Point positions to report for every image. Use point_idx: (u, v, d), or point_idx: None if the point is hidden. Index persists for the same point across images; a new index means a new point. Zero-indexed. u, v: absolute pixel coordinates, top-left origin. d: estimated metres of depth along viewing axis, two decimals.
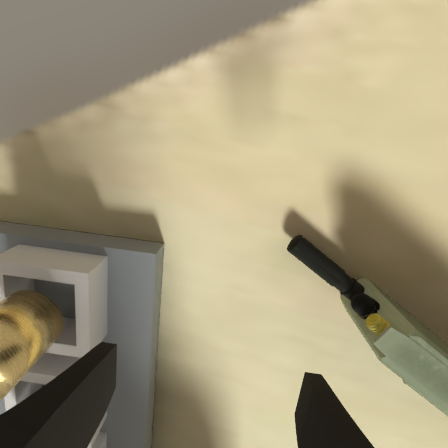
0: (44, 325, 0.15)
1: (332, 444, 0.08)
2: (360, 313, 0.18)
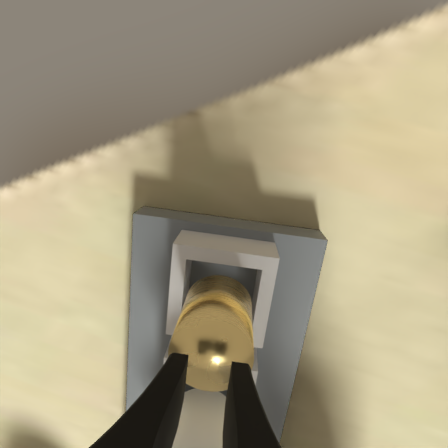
0: (250, 311, 0.15)
1: (234, 429, 0.08)
2: None
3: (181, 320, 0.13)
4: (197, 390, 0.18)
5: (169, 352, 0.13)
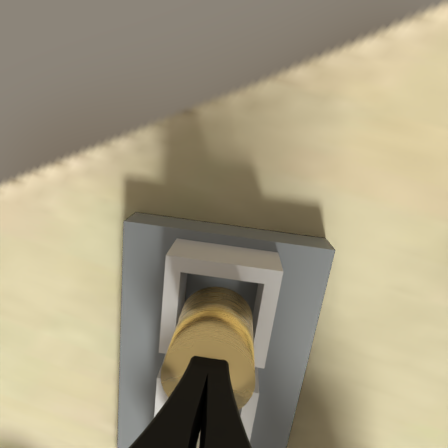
0: (251, 326, 0.14)
1: (205, 424, 0.08)
2: None
3: (175, 339, 0.12)
4: None
5: (162, 375, 0.11)
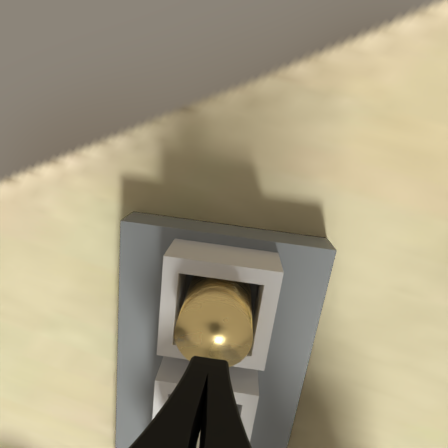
0: (249, 296, 0.16)
1: (205, 424, 0.08)
2: None
3: (186, 303, 0.14)
4: None
5: (175, 332, 0.14)
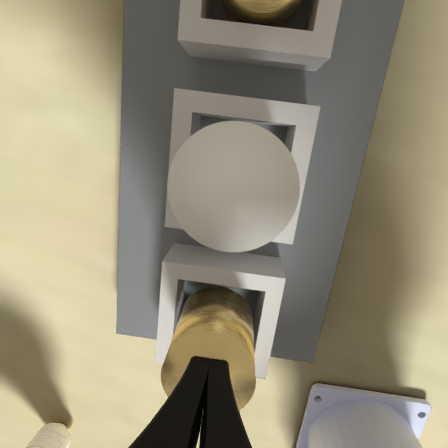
0: None
1: (205, 424, 0.08)
2: None
3: None
4: None
5: None
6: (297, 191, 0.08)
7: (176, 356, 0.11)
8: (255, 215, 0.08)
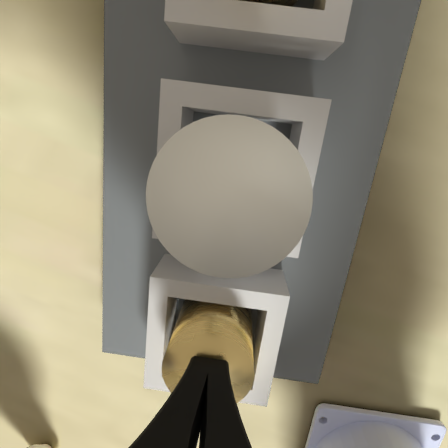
0: None
1: (205, 424, 0.08)
2: None
3: None
4: None
5: None
6: (309, 204, 0.06)
7: (177, 349, 0.11)
8: (256, 233, 0.07)
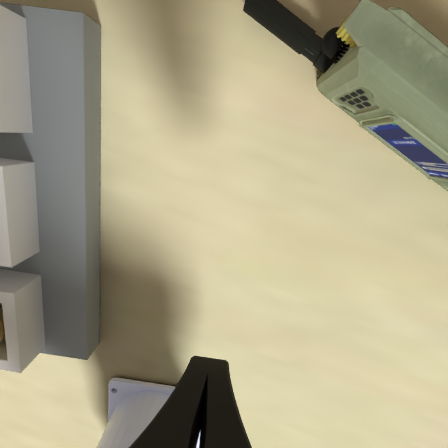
0: None
1: (205, 424, 0.08)
2: (333, 49, 0.14)
3: None
4: None
5: None
6: None
7: None
8: None
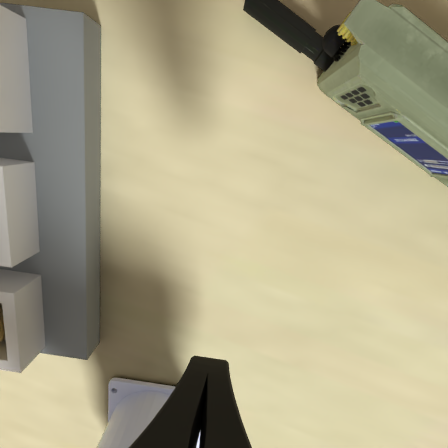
0: None
1: (205, 424, 0.08)
2: (334, 47, 0.14)
3: None
4: None
5: None
6: None
7: None
8: None
